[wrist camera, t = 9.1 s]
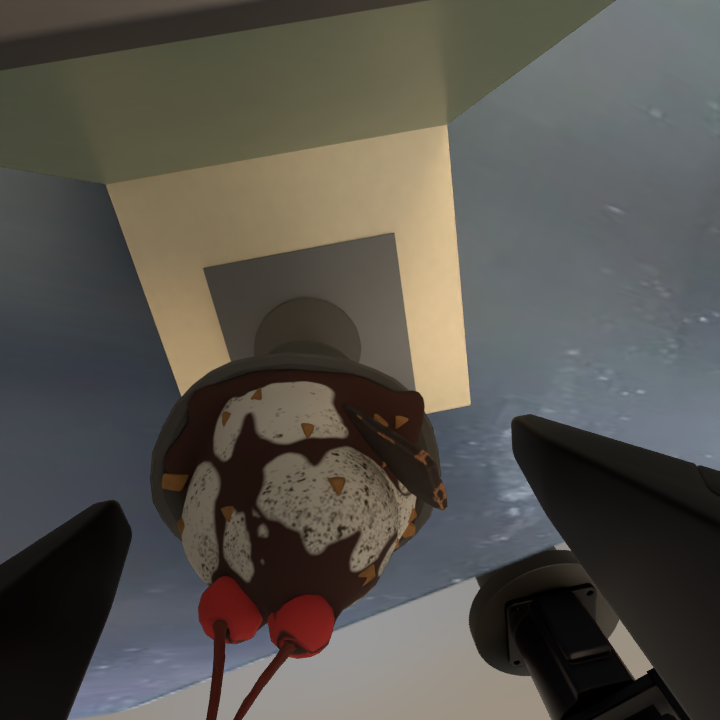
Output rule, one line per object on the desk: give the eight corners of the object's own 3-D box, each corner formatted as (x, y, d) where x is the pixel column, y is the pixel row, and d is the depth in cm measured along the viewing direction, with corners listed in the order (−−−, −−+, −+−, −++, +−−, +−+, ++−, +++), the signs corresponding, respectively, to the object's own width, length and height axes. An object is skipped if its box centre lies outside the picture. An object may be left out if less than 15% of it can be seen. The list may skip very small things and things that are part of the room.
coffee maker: (463, 393, 22) (658, 625, 10) (208, 444, 22) (56, 762, 9) (426, -11, 16) (836, -873, 3) (70, 47, 16) (-1026, -718, 3)
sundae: (231, 408, 19) (15, 914, 5) (240, 268, 17) (-87, 504, 3) (365, 420, 20) (476, 874, 6) (389, 289, 18) (635, 542, 4)
